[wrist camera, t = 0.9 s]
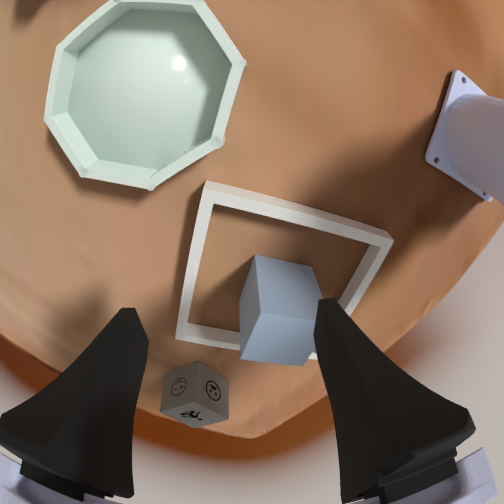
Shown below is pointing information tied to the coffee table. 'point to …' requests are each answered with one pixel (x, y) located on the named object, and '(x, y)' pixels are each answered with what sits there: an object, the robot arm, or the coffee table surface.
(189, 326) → the white flat frame piece
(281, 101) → the coffee table surface
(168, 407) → the dice cube
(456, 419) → the robot arm
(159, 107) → the ceramic dish
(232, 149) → the coffee table surface
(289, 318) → the slate block
